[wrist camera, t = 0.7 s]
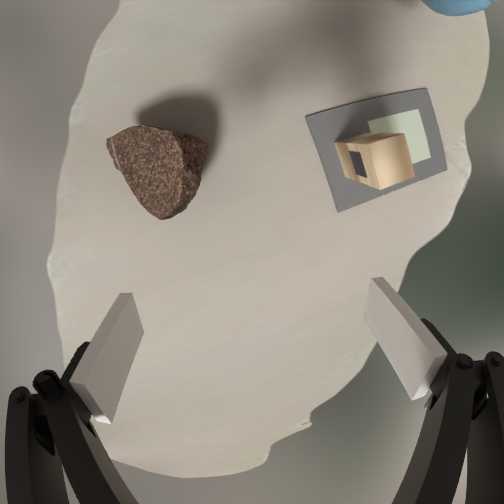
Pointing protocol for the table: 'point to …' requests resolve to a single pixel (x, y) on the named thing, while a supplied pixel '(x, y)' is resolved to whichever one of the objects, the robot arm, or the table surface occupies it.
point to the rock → (159, 167)
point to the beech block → (376, 159)
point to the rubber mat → (378, 121)
